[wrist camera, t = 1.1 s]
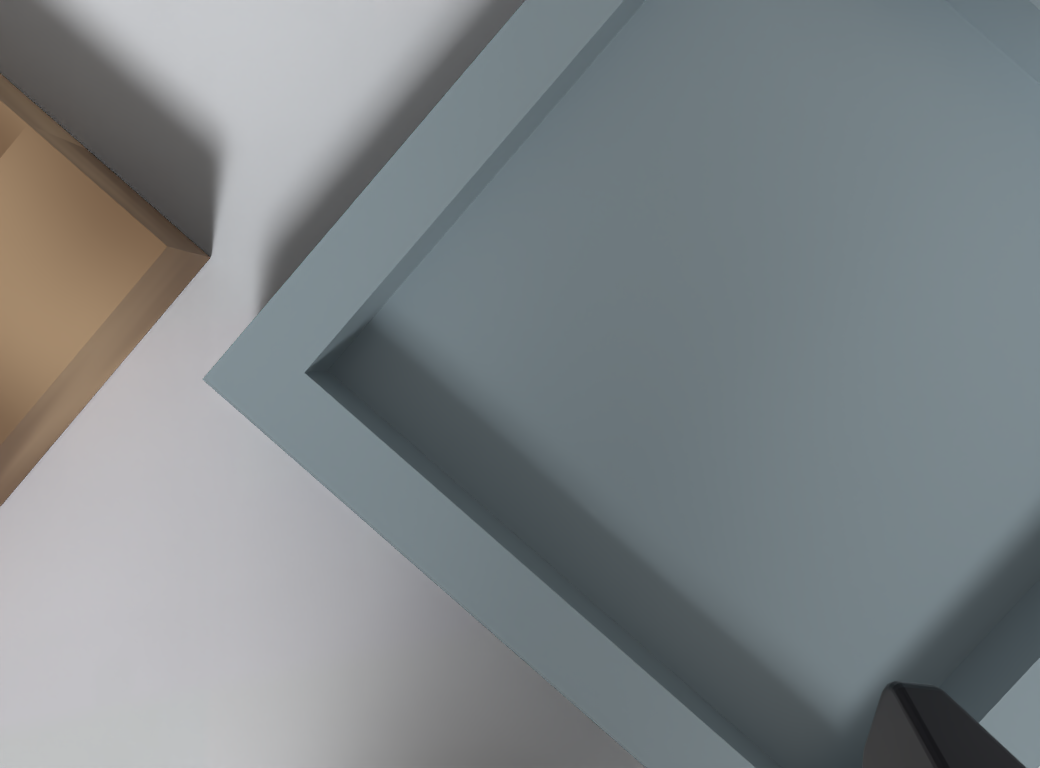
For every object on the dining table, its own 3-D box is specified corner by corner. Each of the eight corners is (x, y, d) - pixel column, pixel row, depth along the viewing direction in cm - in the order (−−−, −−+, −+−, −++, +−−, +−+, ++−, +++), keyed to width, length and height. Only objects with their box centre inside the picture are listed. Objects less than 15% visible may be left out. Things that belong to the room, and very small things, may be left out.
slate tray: (819, 874, 23) (860, 955, 20) (249, 374, 23) (202, 379, 20) (1355, 301, 22) (1484, 293, 19) (758, -221, 22) (791, -313, 19)
